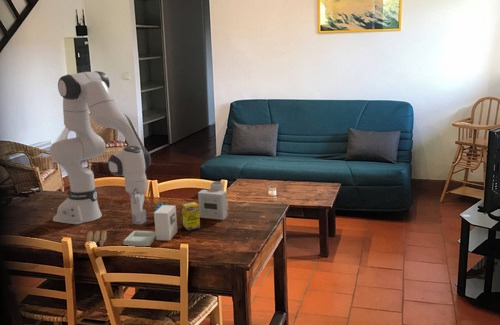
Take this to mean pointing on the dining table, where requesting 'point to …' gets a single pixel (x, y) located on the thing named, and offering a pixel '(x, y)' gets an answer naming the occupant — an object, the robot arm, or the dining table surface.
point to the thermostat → (213, 202)
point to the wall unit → (165, 222)
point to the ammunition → (97, 237)
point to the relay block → (143, 217)
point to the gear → (159, 206)
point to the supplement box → (191, 216)
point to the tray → (140, 238)
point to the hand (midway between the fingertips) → (139, 218)
